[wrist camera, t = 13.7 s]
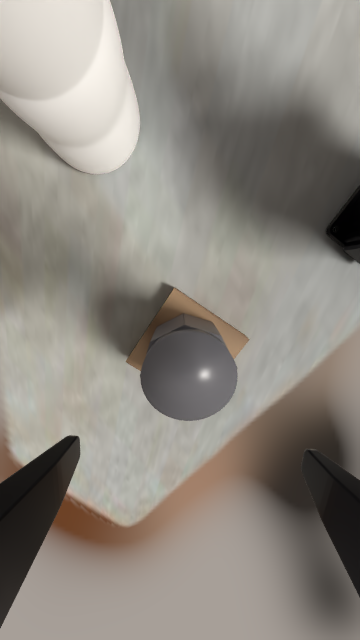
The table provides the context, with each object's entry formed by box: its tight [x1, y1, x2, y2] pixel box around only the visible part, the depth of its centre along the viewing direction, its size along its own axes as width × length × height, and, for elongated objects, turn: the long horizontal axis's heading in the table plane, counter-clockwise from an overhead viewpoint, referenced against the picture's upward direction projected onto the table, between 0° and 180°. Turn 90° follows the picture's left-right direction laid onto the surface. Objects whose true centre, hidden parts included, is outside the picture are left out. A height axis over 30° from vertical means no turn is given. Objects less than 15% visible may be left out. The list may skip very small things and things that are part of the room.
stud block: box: [126, 288, 249, 371], centre depth 17 cm, size 8×8×5 cm
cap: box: [140, 313, 237, 421], centre depth 16 cm, size 6×6×5 cm
